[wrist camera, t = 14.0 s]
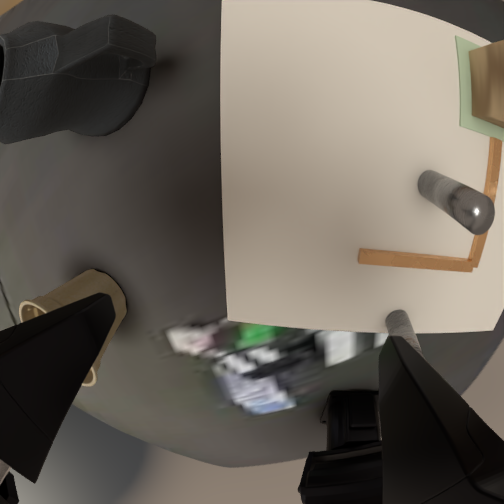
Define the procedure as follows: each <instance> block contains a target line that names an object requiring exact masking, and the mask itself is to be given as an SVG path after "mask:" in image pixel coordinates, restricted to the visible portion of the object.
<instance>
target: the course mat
mask: <svg viewBox="0 0 504 504" xmlns="http://www.w3.org/2000/svg"><path fill="white" fill-rule="evenodd" d="M489 44H492V43H491V42H489V41H487V40H485V39H483V38H481V37H479V36H477V35H475V34H473V33H471V32H468V31H466V30H464V29H462V28H459V27H457V26H455V25H452V24H450V23H447V22H445V21H442V20H439V19H437V18H434V17H431V16H428V15H425V14H422V13H419V12H415V11H412V10H409V9H405V8H401V7H398V6H394V5H389V4H385V3H381V2H376V1H371V0H222V16H221V72H220V115H221V177H222V210H223V237H224V259H225V279H226V297H227V314H228V320H230V321H237V322H245V323H254V324H262V325H272V326H282V327H292V328H304V329H317V330H331V331H349V332H374V333H388V330H387V326H386V323H385V320H386V317H387V316H388V315H389V314H390V313H391V312H392V311H394V310H399V309H401V310H404V311H406V313H407V315H408V317H409V319H410V322H411V324H412V327H413V329H414V332H415V333H452V332H474V331H489V330H493V329H494V327H495V325H496V323H497V321H498V319H499V317H500V315H501V313H502V311H503V309H504V128H501V127H499V126H497V125H494V124H492V123H490V122H487V121H485V120H482V119H479V118H477V117H474V116H472V92H471V73H470V61H469V52H468V51H471V50H474V49H477V48H480V47H483V46H486V45H489ZM490 137H494V138H497V139H499V140H502V153H501V164H500V172H499V180H498V186H497V192H496V198H495V203H494V207H495V217H494V221H493V223H492V225H491V227H490V228H489V230H488V234H487V238H486V242H485V245H484V249H483V252H482V255H481V258H480V262H479V265H478V268H473V271H472V273H470V272H457V271H444V270H430V269H417V268H405V267H392V266H379V265H366V264H359V263H358V254H359V248H363V249H374V250H386V251H397V252H407V253H418V254H428V255H439V256H449V257H459V258H468V257H469V254H470V250H471V247H472V243H473V239H474V234H472V233H471V232H470V231H468V230H467V229H466V228H465V227H463V226H462V225H461V224H460V223H458V222H457V221H456V220H454V219H453V218H452V217H450V216H449V215H448V214H446V213H445V212H444V211H442V210H441V209H440V208H438V207H437V206H435V205H434V204H433V203H431V202H430V201H428V200H427V199H426V198H424V197H423V196H422V195H421V194H420V193H419V190H418V185H417V184H418V179H419V177H420V175H421V174H422V173H423V172H424V171H427V170H433V171H436V172H438V173H440V174H443V175H445V176H447V177H450V178H452V179H454V180H456V181H458V182H460V183H463V184H465V185H467V186H469V187H471V188H473V189H475V190H477V191H479V192H481V193H483V194H484V188H485V181H486V174H487V166H488V156H489V144H490Z"/></svg>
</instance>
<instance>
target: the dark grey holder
mask: <svg viewBox="0 0 504 504" xmlns="http://www.w3.org/2000/svg"><path fill="white" fill-rule="evenodd" d="M155 45H156V35H155V34H154V33H153V32H151V31H149V30H148V29H146V28H144V27H142V26H140V25H138V24H136V23H134V22H132V21H130V20H128V19H125V18H123V17H120V16H117V15H107V16H104V17H101V18H99V19H96V20H94V21H91V22H89V23H86V24H84V25H82V26H80V27H78V28H77V29H73V28H70V27H67V26H63V25H58V24H52V23H46V22H39V21H35V22H28V23H26V24H24V25H22V26H20V27H19V28H17V29H15V30H13V31H11V32H10V33H7V34H1V35H0V142H2V143H3V144H9V143H14V142H18V141H22V140H26V139H31V138H35V137H40V136H45V135H48V134H51V133H54V132H57V131H62V130H71V131H73V132H76V133H78V134H82V135H88V136H106V135H109V134H111V133H113V132H115V131H117V130H119V129H120V128H122V127H123V126H124V125H125V124H126V123H127V122H128V121H129V120H131V119H132V117H133V116H134V114H135V113H136V111H137V110H138V108H139V107H140V105H141V104H142V101H143V99H144V96H145V93H146V91H147V88H148V85H149V77H150V69H151V67H153V66H154V65H155V62H156V52H155Z"/></svg>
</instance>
